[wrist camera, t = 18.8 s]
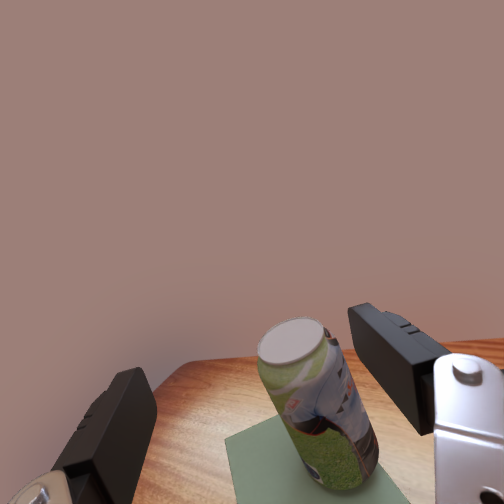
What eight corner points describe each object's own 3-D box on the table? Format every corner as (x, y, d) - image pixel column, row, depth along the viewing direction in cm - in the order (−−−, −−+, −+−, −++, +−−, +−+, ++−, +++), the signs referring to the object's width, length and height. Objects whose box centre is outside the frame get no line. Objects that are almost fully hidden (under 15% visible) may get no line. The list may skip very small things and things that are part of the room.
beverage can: (400, 476, 20) (376, 330, 17) (308, 526, 18) (265, 376, 15) (349, 412, 26) (325, 297, 23) (277, 446, 24) (241, 328, 21)
